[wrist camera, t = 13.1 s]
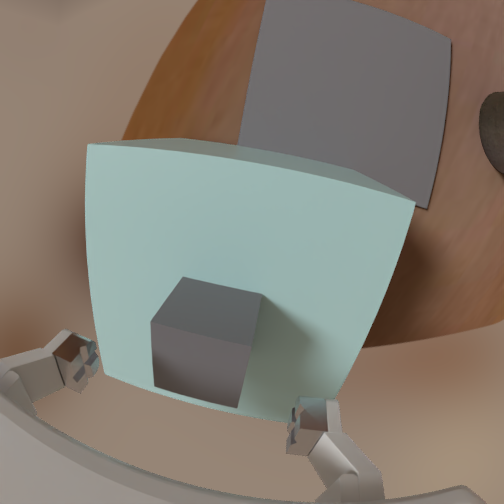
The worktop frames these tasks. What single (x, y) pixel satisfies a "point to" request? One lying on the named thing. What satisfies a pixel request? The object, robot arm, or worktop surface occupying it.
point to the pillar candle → (493, 129)
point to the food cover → (235, 270)
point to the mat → (350, 91)
